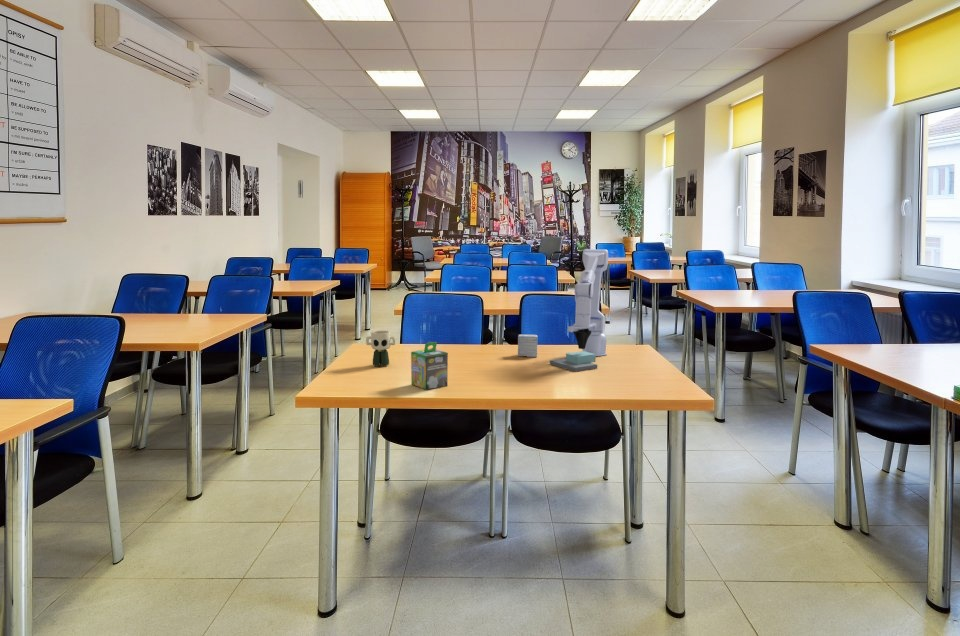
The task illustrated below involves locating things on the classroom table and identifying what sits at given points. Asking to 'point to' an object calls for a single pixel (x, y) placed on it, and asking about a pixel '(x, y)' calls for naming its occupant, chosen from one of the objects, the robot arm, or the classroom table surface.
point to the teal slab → (580, 357)
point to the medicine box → (527, 345)
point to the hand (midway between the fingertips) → (581, 348)
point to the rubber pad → (572, 365)
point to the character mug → (380, 346)
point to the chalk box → (429, 367)
